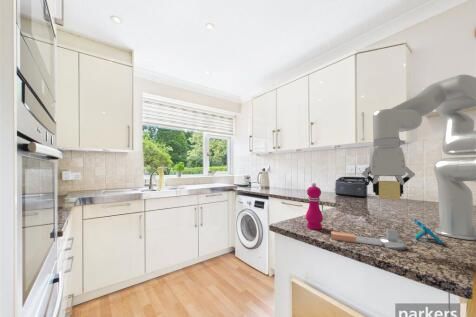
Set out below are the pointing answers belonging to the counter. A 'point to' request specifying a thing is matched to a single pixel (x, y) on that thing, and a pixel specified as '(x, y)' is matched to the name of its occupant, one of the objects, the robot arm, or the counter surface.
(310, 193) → the pepper mill
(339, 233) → the ratchet
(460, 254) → the counter surface
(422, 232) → the teal branched frame
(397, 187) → the olive open-top box
